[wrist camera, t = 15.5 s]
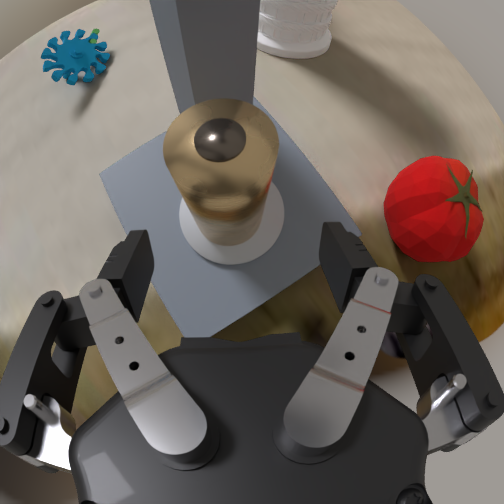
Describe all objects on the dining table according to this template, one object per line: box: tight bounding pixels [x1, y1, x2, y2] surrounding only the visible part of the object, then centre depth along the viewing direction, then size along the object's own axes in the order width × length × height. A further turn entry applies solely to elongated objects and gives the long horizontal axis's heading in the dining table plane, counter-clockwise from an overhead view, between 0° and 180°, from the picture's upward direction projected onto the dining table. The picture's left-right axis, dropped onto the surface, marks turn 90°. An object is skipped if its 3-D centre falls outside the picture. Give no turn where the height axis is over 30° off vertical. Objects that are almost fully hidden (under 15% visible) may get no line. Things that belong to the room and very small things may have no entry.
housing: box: [163, 98, 279, 246], centre depth 16 cm, size 5×5×10 cm
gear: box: [41, 29, 110, 85], centre depth 25 cm, size 11×6×10 cm
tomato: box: [384, 156, 484, 262], centre depth 20 cm, size 9×10×8 cm
